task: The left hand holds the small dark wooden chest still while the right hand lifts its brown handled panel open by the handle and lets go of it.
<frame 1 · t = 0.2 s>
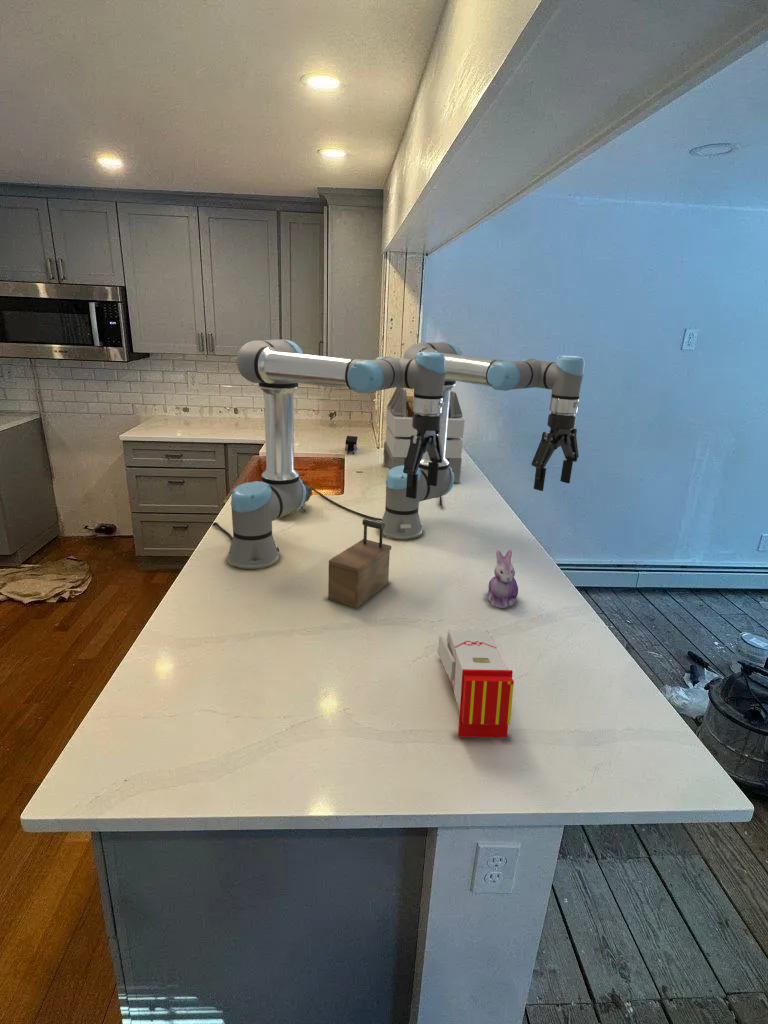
left hand: (421, 491, 155), 28 cm above the counter, tool pointing down, fingers open, 13 cm apart
right hand: (551, 485, 166), 28 cm above the counter, tool pointing down, fingers open, 13 cm apart
chest: (359, 590, 159), on the counter
figurine character: (351, 451, 309), on the counter
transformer: (419, 473, 275), on the counter
toy: (469, 691, 119), on the counter
fossil: (295, 511, 217), on the counter
figurine: (502, 601, 156), on the counter
brown handled panel: (361, 542, 154), point 15 cm above the counter, hinge at 0.0°
feather: (440, 498, 240), on the counter
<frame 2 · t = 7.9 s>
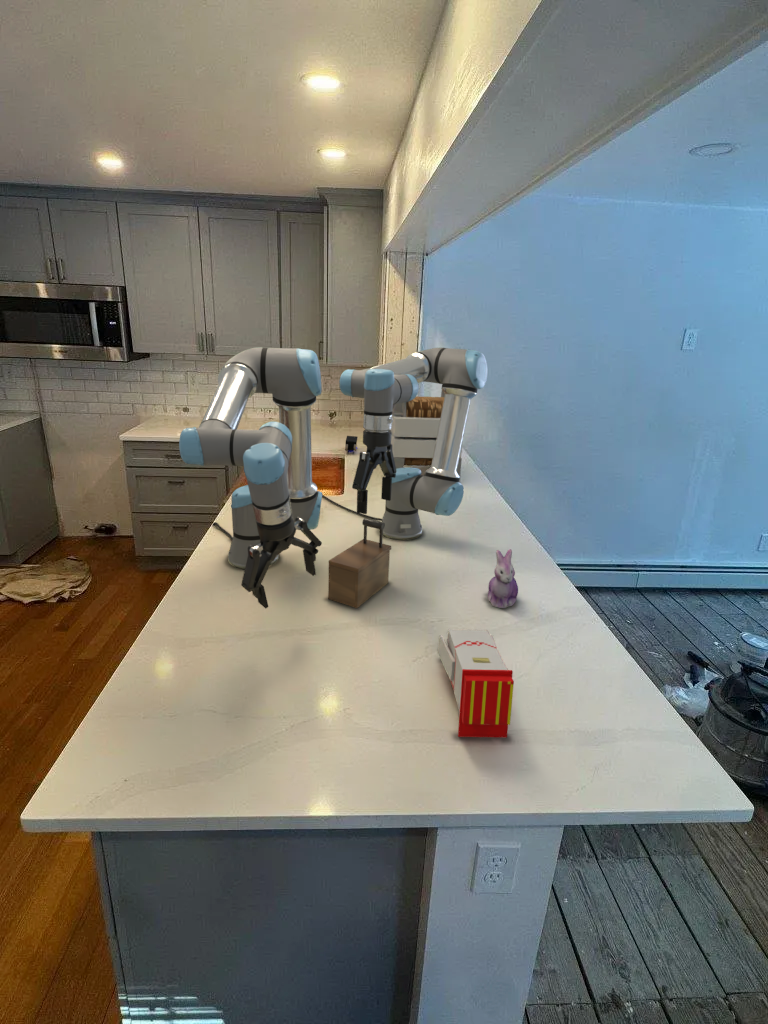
left hand: (287, 588, 129), 14 cm above the counter, tool tilted 20°, fingers open, 13 cm apart
right hand: (374, 506, 156), 23 cm above the counter, tool pointing down, fingers open, 13 cm apart
nothing on the counter moved.
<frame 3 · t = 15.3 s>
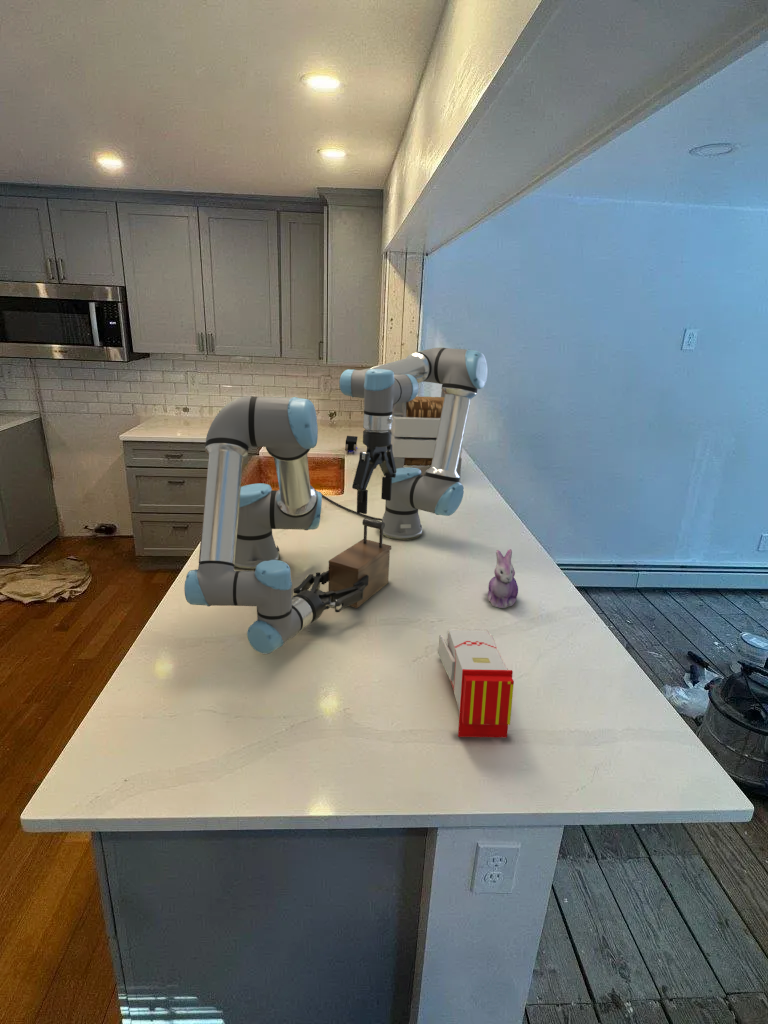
left hand: (351, 575, 153), 7 cm above the counter, tool horizontal, fingers closed on chest, 9 cm apart
right hand: (374, 506, 156), 23 cm above the counter, tool pointing down, fingers open, 13 cm apart
chest: (359, 590, 159), on the counter, touching left hand
everything else where it was.
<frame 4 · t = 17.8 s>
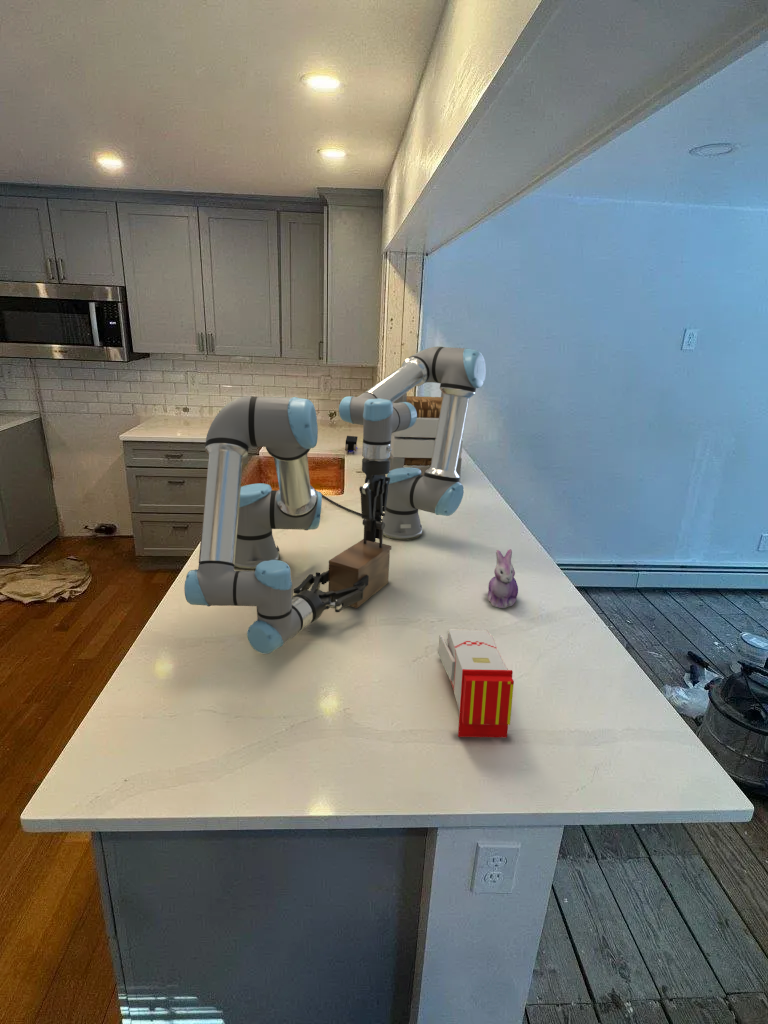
left hand: (351, 575, 153), 7 cm above the counter, tool horizontal, fingers closed on chest, 9 cm apart
right hand: (373, 539, 160), 13 cm above the counter, tool pointing down, fingers closed on brown handled panel, 2 cm apart
chest: (359, 590, 159), on the counter, touching left hand
brown handled panel: (361, 542, 154), point 15 cm above the counter, hinge at -0.1°, touching right hand
everything else where it was.
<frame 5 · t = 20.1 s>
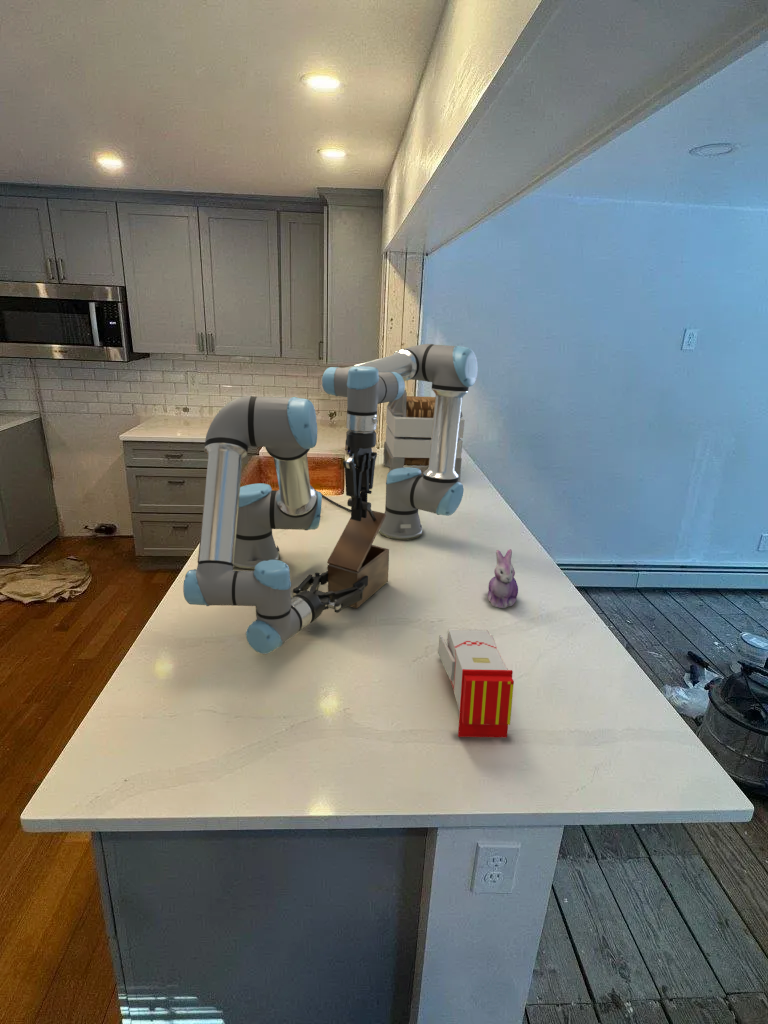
left hand: (350, 575, 152), 7 cm above the counter, tool horizontal, fingers closed on chest, 9 cm apart
right hand: (358, 518, 150), 22 cm above the counter, tool pointing down, fingers closed on brown handled panel, 2 cm apart
chest: (359, 590, 158), on the counter, touching left hand
brown handled panel: (352, 531, 148), point 20 cm above the counter, hinge at 36.6°, touching right hand
everything else where it was.
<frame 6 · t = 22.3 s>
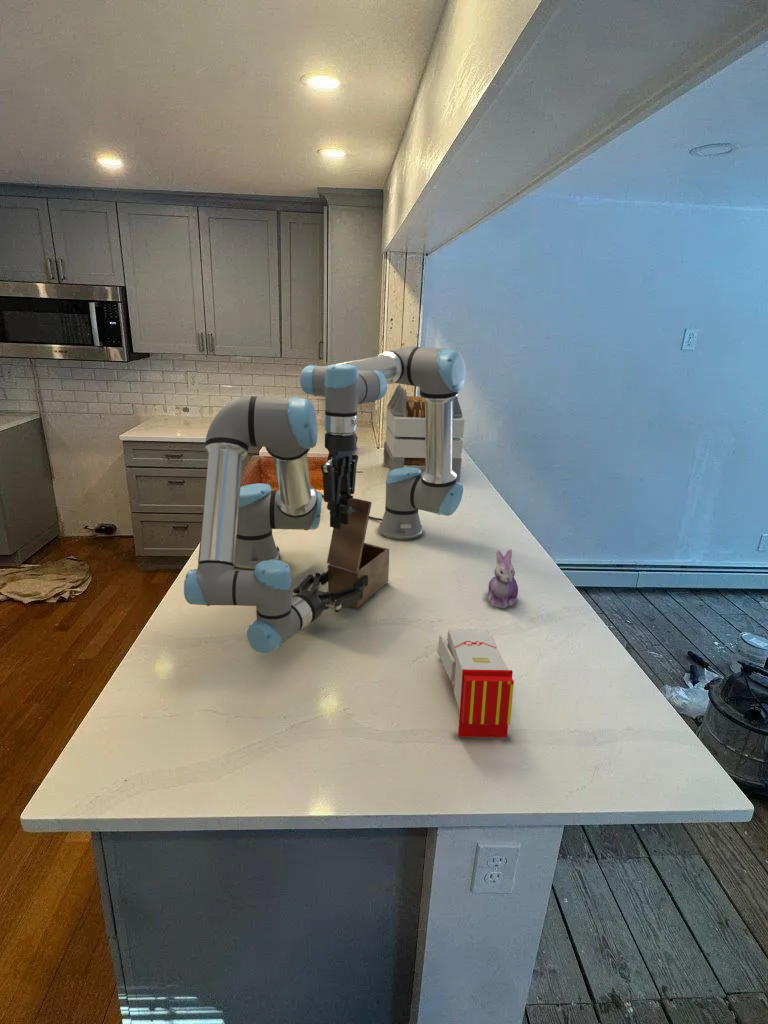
left hand: (351, 575, 152), 7 cm above the counter, tool horizontal, fingers closed on chest, 9 cm apart
right hand: (339, 525, 142), 23 cm above the counter, tool pointing down, fingers open, 3 cm apart
chest: (359, 589, 159), on the counter, touching left hand
brown handled panel: (341, 533, 143), point 21 cm above the counter, hinge at 70.0°
everything else where it was.
when the left hand's fingers open (7 cm above the counter, at t = 26.3 s): chest stays where it is, on the counter.
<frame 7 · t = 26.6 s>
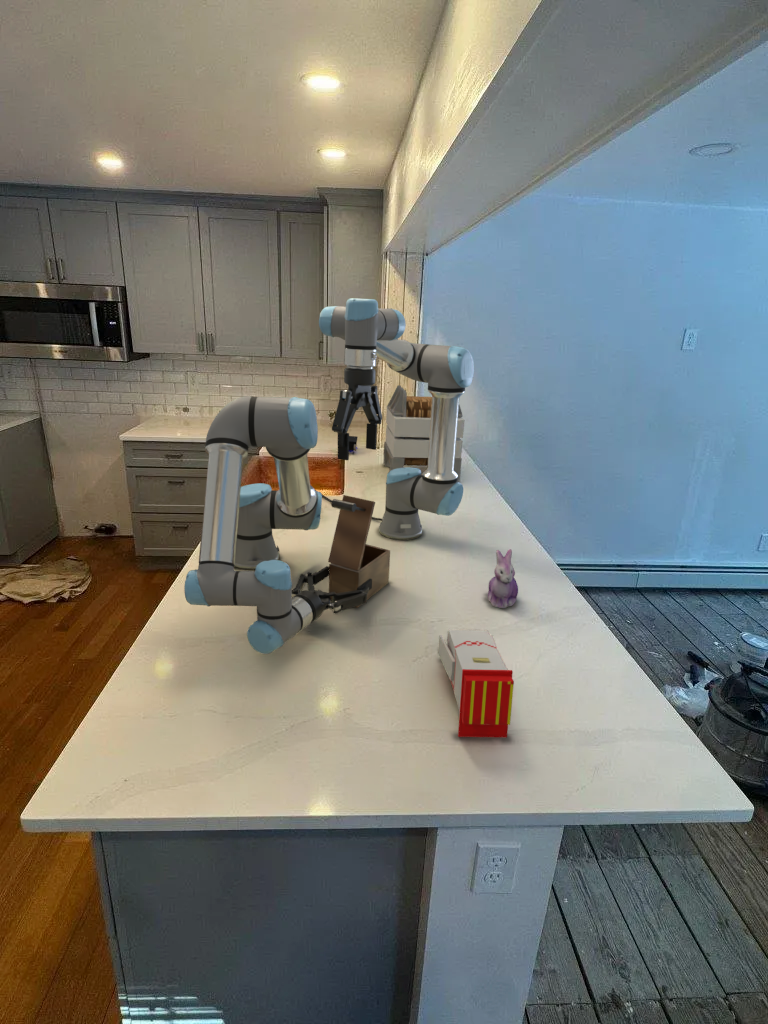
left hand: (349, 576, 152), 7 cm above the counter, tool horizontal, fingers open, 13 cm apart
right hand: (357, 454, 143), 40 cm above the counter, tool pointing down, fingers open, 13 cm apart
chest: (359, 590, 159), on the counter
brown handled panel: (344, 531, 145), point 21 cm above the counter, hinge at 67.4°
everything else where it was.
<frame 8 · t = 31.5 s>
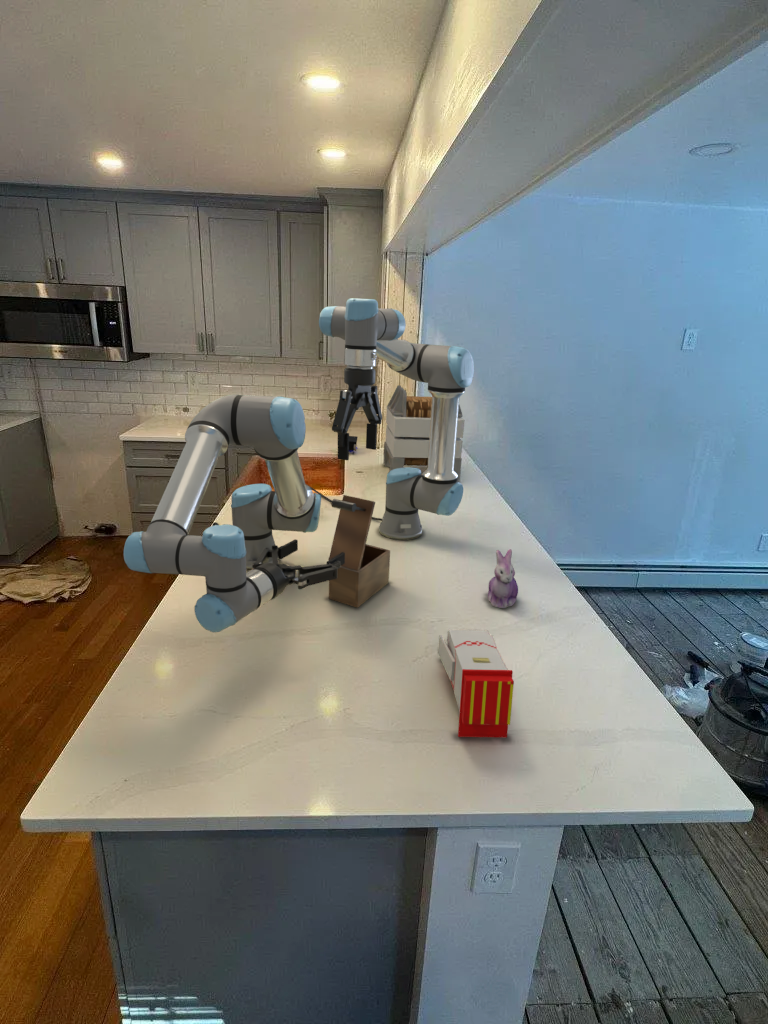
left hand: (319, 551, 136), 19 cm above the counter, tool horizontal, fingers open, 13 cm apart
right hand: (357, 454, 143), 40 cm above the counter, tool pointing down, fingers open, 13 cm apart
nothing on the counter moved.
at the end: brown handled panel at +67° (first picture: +0°); the left hand is holding nothing; the right hand is holding nothing; chest tilted 0°; chest never tilted more than 3° during the clip; chest moved 0.2 cm from its start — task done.
